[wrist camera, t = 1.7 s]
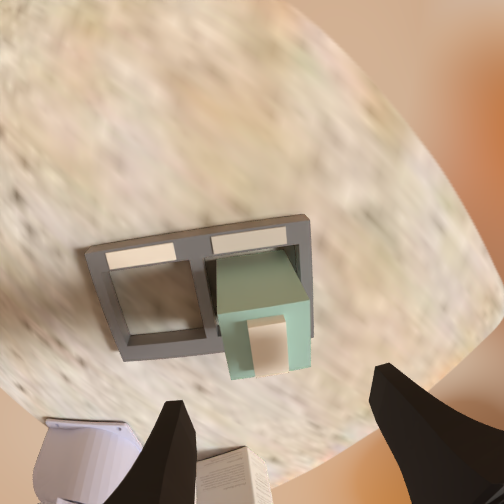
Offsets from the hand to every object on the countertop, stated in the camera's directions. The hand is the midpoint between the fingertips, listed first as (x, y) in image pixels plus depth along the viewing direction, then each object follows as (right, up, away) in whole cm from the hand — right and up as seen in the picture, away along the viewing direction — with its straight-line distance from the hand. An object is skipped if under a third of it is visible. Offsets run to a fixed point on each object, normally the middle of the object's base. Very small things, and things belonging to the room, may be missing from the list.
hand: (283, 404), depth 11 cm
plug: (-1, +4, +9) cm, 10 cm away
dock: (-4, +3, +9) cm, 10 cm away
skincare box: (-3, -15, +17) cm, 23 cm away
